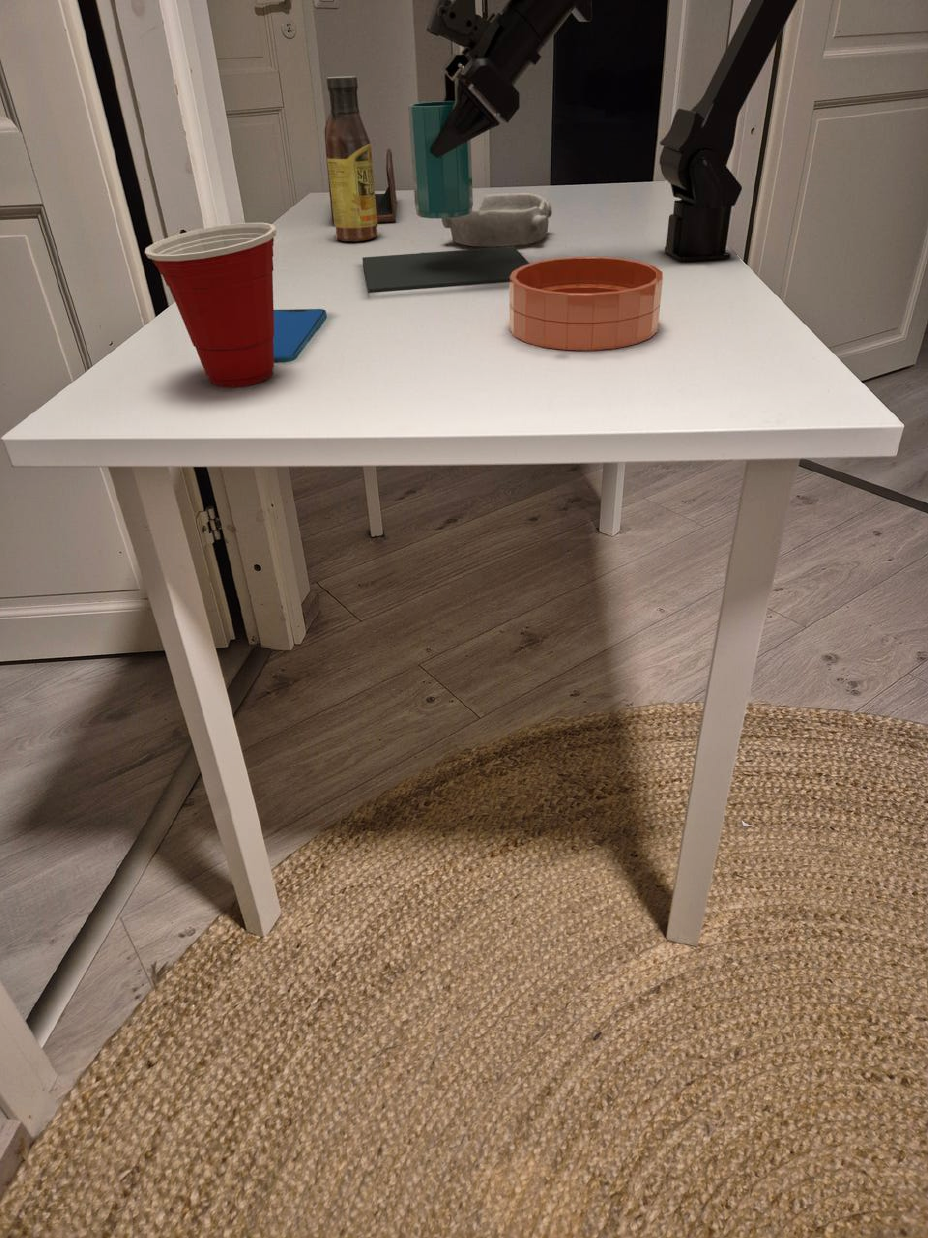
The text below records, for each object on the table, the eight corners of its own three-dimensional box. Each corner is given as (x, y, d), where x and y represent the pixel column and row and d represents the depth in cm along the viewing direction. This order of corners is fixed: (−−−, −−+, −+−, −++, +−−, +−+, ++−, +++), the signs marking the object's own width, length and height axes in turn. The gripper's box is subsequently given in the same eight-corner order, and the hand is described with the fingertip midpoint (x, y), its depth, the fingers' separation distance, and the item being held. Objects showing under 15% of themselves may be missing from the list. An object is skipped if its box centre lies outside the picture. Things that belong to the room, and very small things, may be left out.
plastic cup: (189, 360, 79) (157, 223, 72) (303, 352, 79) (282, 216, 72) (166, 402, 70) (126, 251, 63) (293, 393, 70) (268, 242, 63)
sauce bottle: (371, 243, 118) (355, 76, 106) (330, 243, 119) (309, 78, 107) (384, 233, 123) (370, 73, 111) (344, 233, 124) (326, 75, 112)
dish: (435, 248, 113) (433, 208, 111) (472, 227, 124) (471, 190, 121) (535, 253, 109) (536, 212, 106) (565, 231, 119) (566, 193, 116)
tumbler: (483, 210, 98) (480, 101, 91) (445, 220, 94) (439, 106, 87) (443, 205, 101) (437, 100, 95) (405, 214, 97) (396, 105, 91)
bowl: (630, 307, 87) (635, 252, 84) (678, 349, 76) (685, 287, 73) (498, 318, 86) (498, 262, 83) (526, 363, 75) (527, 300, 71)
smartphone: (217, 359, 78) (262, 309, 90) (219, 369, 78) (263, 318, 90) (293, 358, 77) (328, 308, 89) (294, 368, 78) (329, 317, 90)
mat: (514, 254, 109) (514, 245, 108) (540, 284, 96) (540, 275, 96) (363, 265, 107) (362, 257, 107) (369, 297, 94) (368, 288, 94)
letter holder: (332, 226, 129) (319, 121, 121) (340, 203, 145) (329, 109, 137) (396, 222, 129) (388, 117, 121) (396, 200, 145) (389, 106, 137)
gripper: (457, -35, 92) (369, 89, 97) (485, -47, 77) (379, 100, 82) (526, 47, 97) (439, 160, 103) (565, 51, 82) (460, 183, 88)
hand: (429, 150), depth 94 cm, fingers closed on tumbler, 7 cm apart
